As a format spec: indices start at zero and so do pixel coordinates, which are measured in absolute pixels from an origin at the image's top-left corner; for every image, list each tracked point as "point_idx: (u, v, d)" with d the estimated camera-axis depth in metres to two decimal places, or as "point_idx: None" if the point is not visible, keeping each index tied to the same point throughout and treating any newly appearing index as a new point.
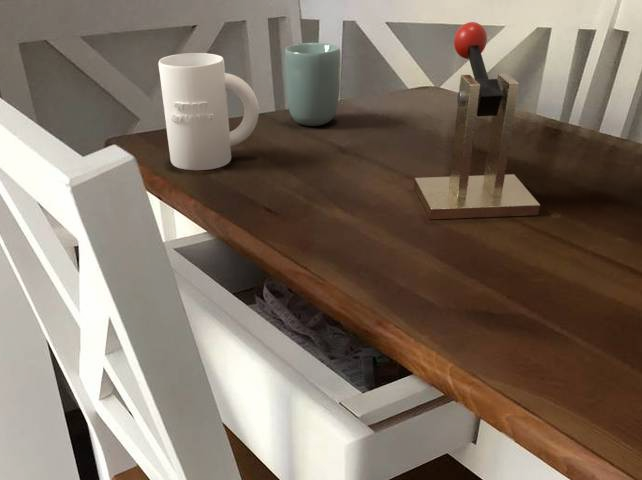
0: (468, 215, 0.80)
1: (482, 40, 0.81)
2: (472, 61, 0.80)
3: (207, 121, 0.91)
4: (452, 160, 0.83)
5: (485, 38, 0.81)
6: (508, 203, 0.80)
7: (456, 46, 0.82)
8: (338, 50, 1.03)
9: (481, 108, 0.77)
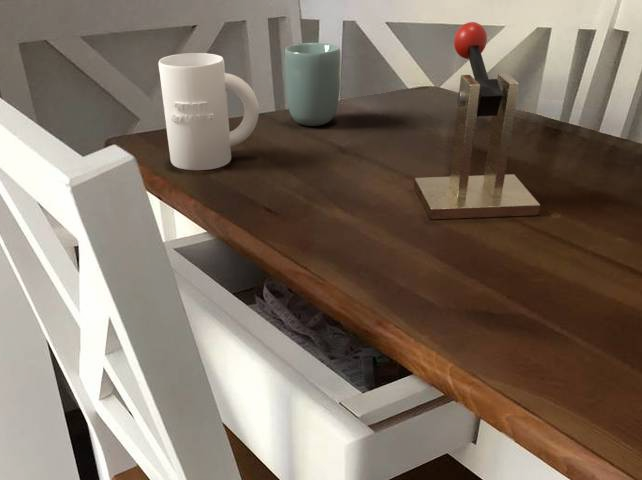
0: (468, 215, 0.80)
1: (482, 40, 0.81)
2: (472, 61, 0.80)
3: (207, 121, 0.91)
4: (452, 160, 0.83)
5: (485, 38, 0.81)
6: (508, 203, 0.80)
7: (456, 46, 0.82)
8: (338, 50, 1.03)
9: (481, 108, 0.77)
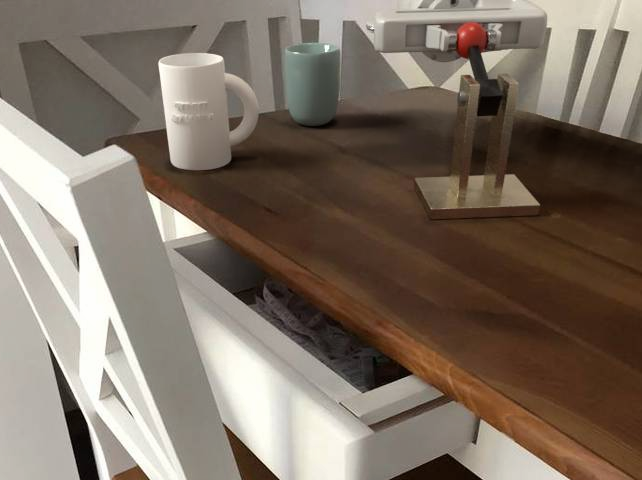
0: (468, 215, 0.80)
1: (482, 40, 0.81)
2: (472, 61, 0.80)
3: (207, 121, 0.91)
4: (452, 160, 0.83)
5: (485, 38, 0.81)
6: (508, 203, 0.80)
7: None
8: (338, 50, 1.03)
9: (481, 108, 0.77)
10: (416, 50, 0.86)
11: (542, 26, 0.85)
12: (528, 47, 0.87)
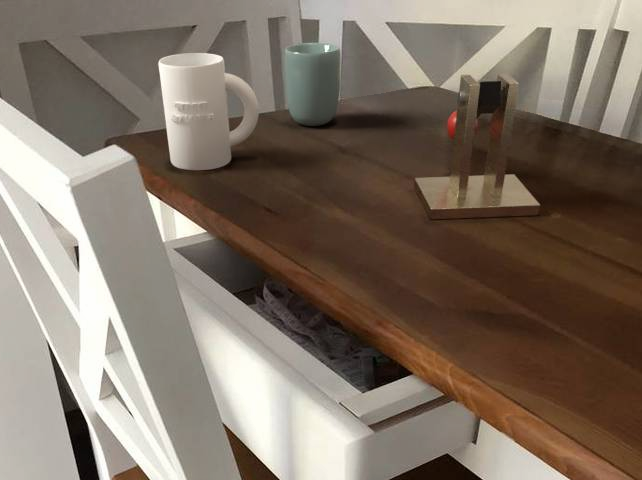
0: (468, 215, 0.80)
1: None
2: None
3: (207, 121, 0.91)
4: (452, 160, 0.83)
5: None
6: (508, 203, 0.80)
7: (450, 126, 0.87)
8: (338, 50, 1.03)
9: (483, 96, 0.76)
10: None
11: None
12: None
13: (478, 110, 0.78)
